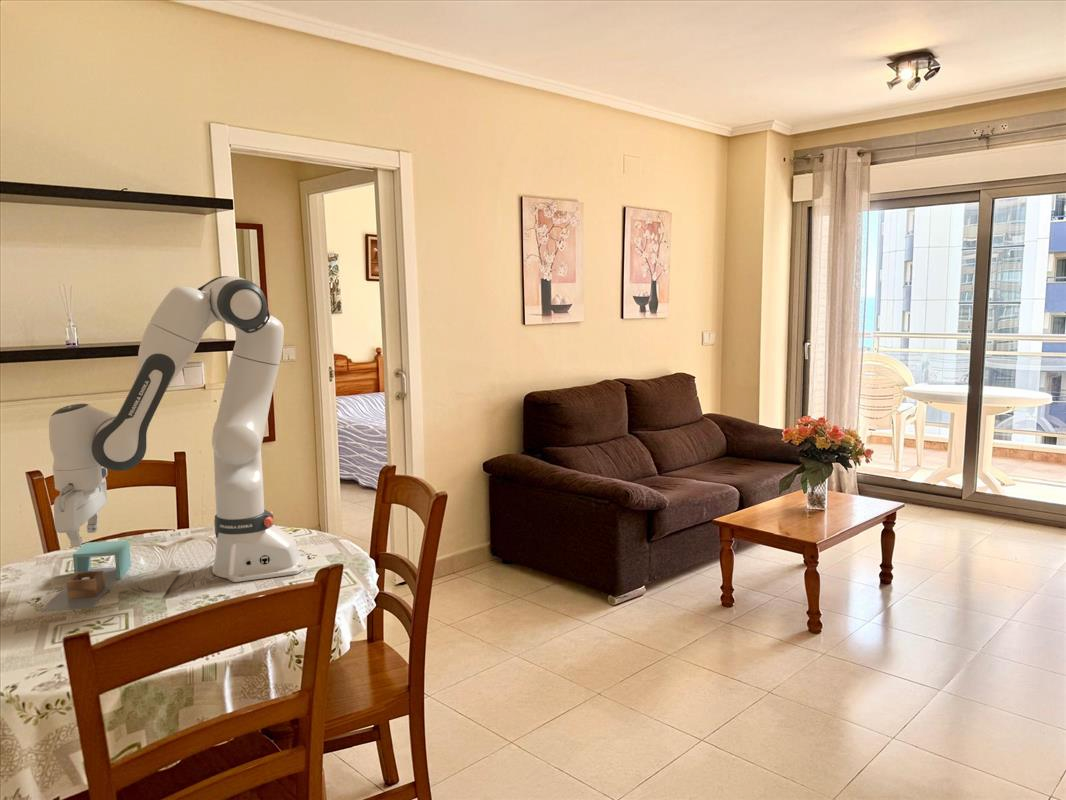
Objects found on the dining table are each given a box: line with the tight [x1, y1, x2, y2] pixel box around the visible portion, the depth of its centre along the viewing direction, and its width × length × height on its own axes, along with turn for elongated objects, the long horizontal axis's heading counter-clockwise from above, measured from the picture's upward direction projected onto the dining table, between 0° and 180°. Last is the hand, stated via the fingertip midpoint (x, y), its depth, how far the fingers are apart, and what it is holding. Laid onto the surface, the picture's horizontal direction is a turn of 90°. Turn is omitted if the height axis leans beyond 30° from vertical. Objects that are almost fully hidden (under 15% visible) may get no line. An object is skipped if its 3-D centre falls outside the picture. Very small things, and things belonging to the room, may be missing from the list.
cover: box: [72, 539, 132, 580], centre depth 178 cm, size 10×8×6 cm
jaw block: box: [66, 571, 105, 599], centre depth 167 cm, size 6×6×4 cm
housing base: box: [41, 566, 118, 612], centre depth 171 cm, size 10×24×4 cm, turn 12°
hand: (85, 538), depth 166 cm, fingers open, 8 cm apart
